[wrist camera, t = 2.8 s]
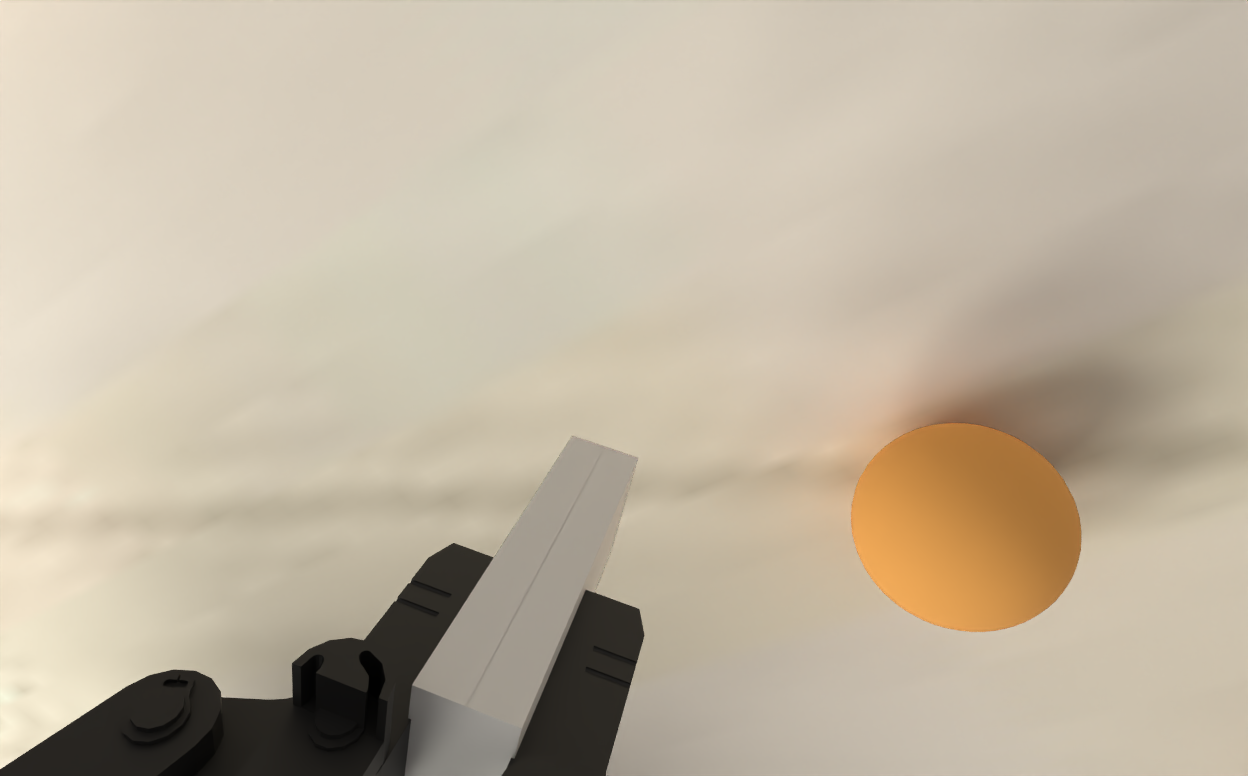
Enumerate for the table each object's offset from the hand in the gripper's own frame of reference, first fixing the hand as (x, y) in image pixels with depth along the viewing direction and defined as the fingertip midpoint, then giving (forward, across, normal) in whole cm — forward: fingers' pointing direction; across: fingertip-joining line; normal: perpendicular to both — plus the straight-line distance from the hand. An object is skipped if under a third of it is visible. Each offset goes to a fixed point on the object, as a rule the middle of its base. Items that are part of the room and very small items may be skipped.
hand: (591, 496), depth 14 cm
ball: (+5, -9, 0) cm, 10 cm away
